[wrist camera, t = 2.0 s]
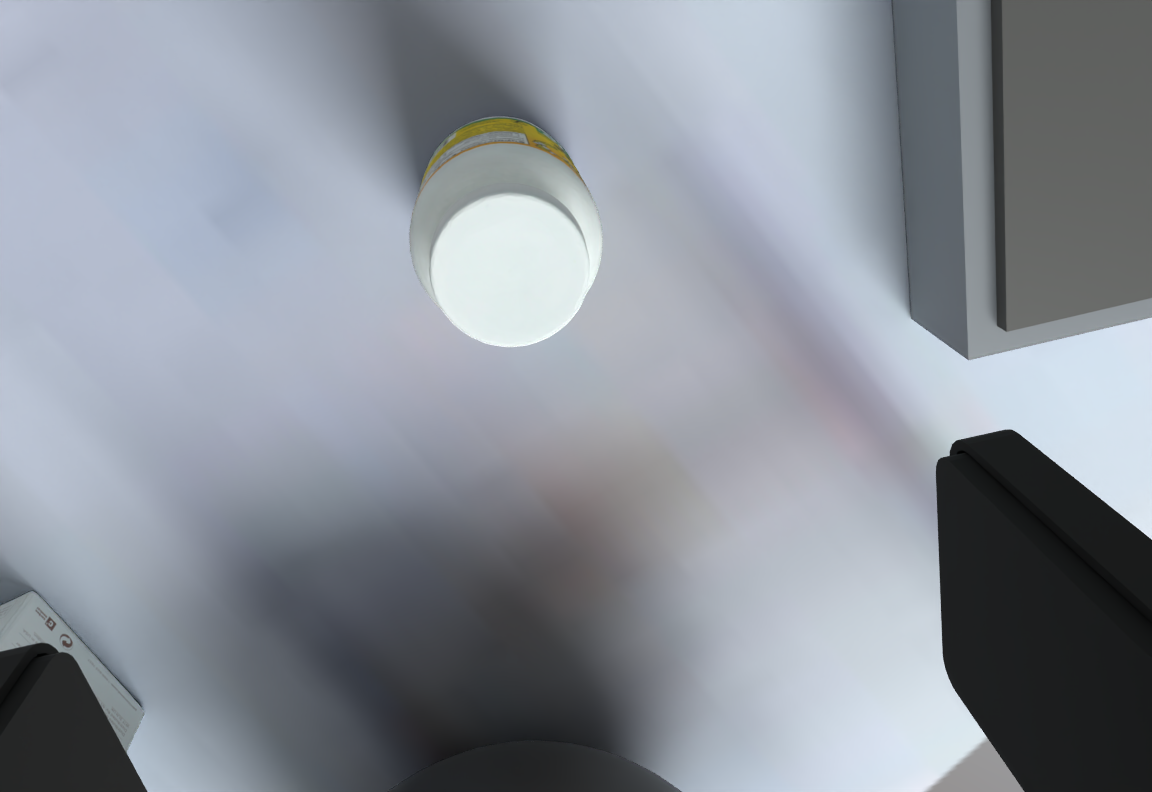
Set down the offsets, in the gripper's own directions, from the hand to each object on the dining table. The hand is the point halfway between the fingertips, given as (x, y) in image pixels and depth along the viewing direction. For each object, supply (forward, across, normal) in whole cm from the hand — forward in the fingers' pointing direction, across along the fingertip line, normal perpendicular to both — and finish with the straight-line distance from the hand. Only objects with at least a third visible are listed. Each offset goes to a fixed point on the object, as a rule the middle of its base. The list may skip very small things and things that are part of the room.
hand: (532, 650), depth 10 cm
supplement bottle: (+24, 0, 0) cm, 24 cm away
